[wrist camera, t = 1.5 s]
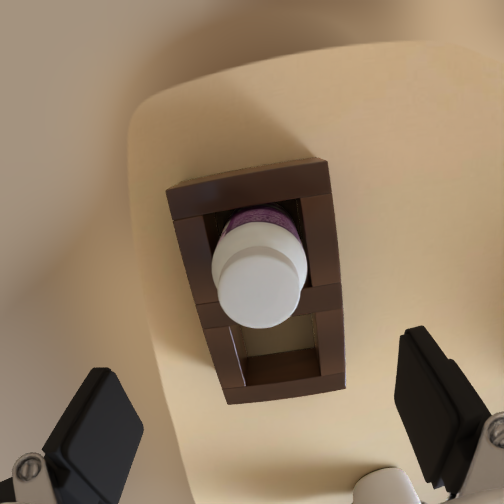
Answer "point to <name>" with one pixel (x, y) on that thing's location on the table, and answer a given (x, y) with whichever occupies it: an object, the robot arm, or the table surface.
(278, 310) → the pill bottle
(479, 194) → the table surface
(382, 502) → the cup
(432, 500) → the table surface
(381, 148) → the table surface
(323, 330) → the rack
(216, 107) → the table surface
